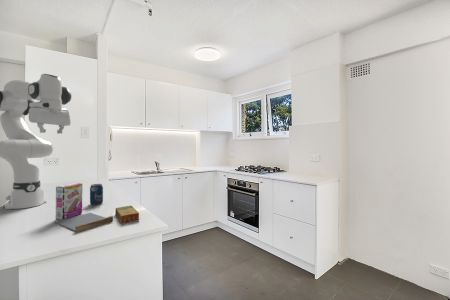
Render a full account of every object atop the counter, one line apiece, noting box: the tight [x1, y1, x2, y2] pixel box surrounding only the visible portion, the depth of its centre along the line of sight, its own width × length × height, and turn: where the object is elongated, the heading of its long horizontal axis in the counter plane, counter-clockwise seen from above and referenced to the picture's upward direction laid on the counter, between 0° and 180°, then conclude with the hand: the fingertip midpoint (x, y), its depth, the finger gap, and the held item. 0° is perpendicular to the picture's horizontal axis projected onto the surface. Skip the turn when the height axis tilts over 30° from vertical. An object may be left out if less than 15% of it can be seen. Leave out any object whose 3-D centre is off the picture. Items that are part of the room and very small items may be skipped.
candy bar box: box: [55, 182, 83, 221], centre depth 112 cm, size 11×5×16 cm, turn 168°
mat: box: [54, 212, 106, 232], centre depth 105 cm, size 19×16×1 cm
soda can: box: [89, 183, 104, 206], centre depth 135 cm, size 7×7×12 cm
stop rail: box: [74, 215, 114, 233], centre depth 100 cm, size 1×16×2 cm, turn 149°
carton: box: [114, 205, 140, 225], centre depth 112 cm, size 8×16×4 cm, turn 36°
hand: (51, 133), depth 113 cm, fingers open, 8 cm apart
